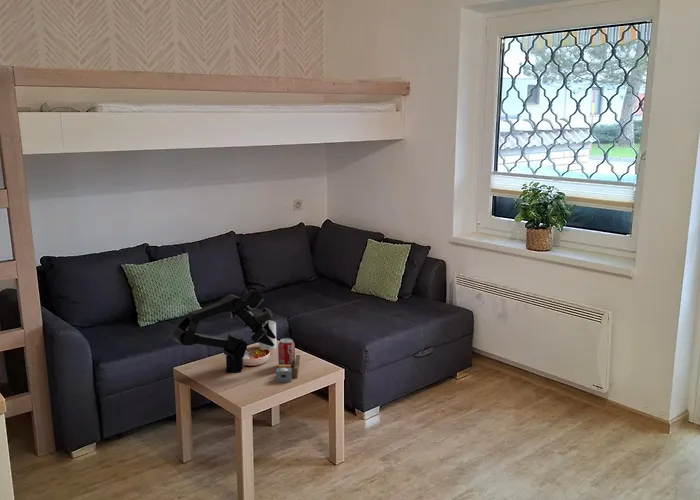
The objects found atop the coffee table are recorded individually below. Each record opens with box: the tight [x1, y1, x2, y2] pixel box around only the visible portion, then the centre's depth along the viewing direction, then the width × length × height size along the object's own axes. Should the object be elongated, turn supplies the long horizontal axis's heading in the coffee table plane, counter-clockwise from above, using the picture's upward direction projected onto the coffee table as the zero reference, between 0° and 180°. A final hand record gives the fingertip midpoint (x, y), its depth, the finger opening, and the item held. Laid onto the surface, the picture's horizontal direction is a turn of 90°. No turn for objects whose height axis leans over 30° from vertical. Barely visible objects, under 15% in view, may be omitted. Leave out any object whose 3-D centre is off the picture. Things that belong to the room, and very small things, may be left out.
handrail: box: [293, 354, 301, 379], centre depth 276 cm, size 2×15×4 cm, turn 1°
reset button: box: [278, 364, 291, 374], centre depth 270 cm, size 5×4×3 cm
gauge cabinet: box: [275, 367, 293, 383], centre depth 267 cm, size 6×4×5 cm, turn 91°
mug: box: [258, 319, 277, 351], centre depth 300 cm, size 8×12×12 cm
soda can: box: [277, 337, 296, 368], centre depth 280 cm, size 7×7×12 cm
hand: (274, 341), depth 279 cm, fingers open, 9 cm apart
